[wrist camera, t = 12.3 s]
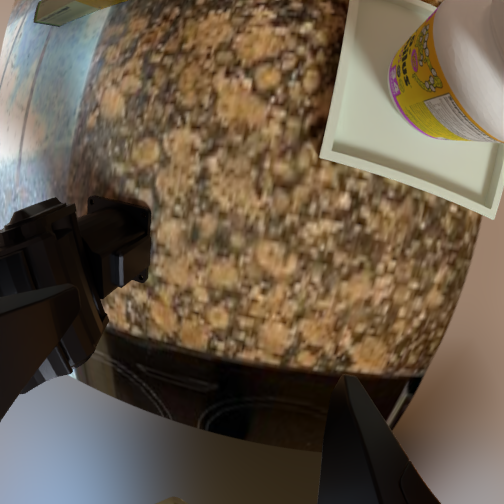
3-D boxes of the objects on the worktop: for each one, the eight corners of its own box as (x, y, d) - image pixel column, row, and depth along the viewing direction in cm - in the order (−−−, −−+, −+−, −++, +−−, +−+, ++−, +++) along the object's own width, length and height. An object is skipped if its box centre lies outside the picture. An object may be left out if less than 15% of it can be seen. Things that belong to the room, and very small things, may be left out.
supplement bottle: (409, 28, 12) (495, -73, 1) (484, 90, 13) (616, 69, 1) (366, 98, 15) (452, 21, 3) (445, 161, 15) (590, 202, 4)
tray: (319, 156, 18) (319, 157, 16) (350, -11, 13) (353, -22, 11) (483, 214, 16) (494, 220, 15) (508, 59, 11) (518, 55, 10)
